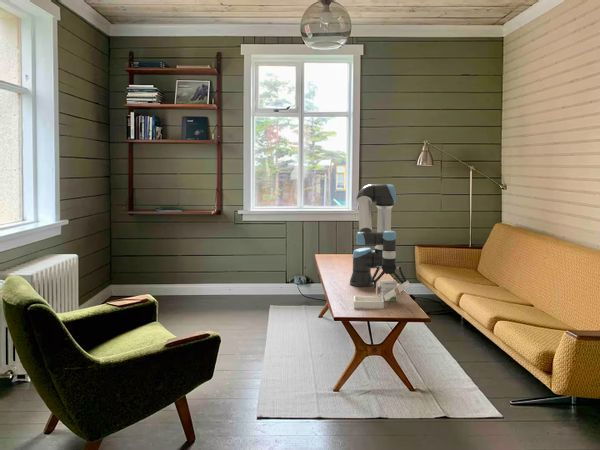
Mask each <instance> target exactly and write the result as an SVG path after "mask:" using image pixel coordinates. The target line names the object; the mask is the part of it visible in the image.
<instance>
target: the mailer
mask: <svg viewBox="0 0 600 450" xmlns="http://www.w3.org/2000/svg"><path fill="white" fill-rule="evenodd" d="M353 309H362V310H363V309H364V310H365V309H369V310H370V309H371V310H377V309H378V310H384V309H385V302H384V300H383V297H382V296H379V295H378V296H377V295H375V296H374V295H373V296H372V295H370V296H368V295H353Z"/></svg>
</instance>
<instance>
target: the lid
mask: <svg viewBox="0 0 600 450" xmlns="http://www.w3.org/2000/svg"><path fill="white" fill-rule="evenodd" d="M409 287H411V284H410V282H409V280H406V282H404V283H403V284H401V285H400V284H399V285H397V287H396V288H395V289H393V290H391V291H390V292H388V293H387V294H385V295H384V298H385V301H386V302H388V301H387V300H388V299H390V298H391V297H393V296H395V295H396V294H397V295H398V294H399V293H400V292H401V293H402V292H404V290H406V289H407V288H409Z"/></svg>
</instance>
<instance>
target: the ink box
mask: <svg viewBox="0 0 600 450" xmlns="http://www.w3.org/2000/svg"><path fill="white" fill-rule="evenodd" d="M396 287H398V281H397V280H395V279H386V280H385V279H381V280H380V289H379V291H380V292H379V294H380V296H382V297H383V300H384V303H385V302H397V295H398V294H396V295H395V296H393V297H391V298H390V299H388V300H387V301H385V298H384V295H385V294H387V293H388V292H390V291H391V290H393V289H395V288H396Z"/></svg>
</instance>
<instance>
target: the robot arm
mask: <svg viewBox="0 0 600 450" xmlns="http://www.w3.org/2000/svg"><path fill="white" fill-rule="evenodd" d="M373 203H375V205H374V206H375V207H376V208H377V222H376V223H377V224H376V225H377V227H376V229H377V230H376V232H375V231H373V227H372V226H373V225H372V224H373V222H372V207H371V205H372V204H373ZM396 203H397V193H396V188H395V185H394V184H391V183H390V184H389V183H388V184H387V183H380V184H379V183H376V184H375V183H374V184H373V183H371V184H367V185H364V186H363V187H362V188H361V189H359V192H358V193H357V196H356V205H357V206H358V231H357V232H356V234H355V235H356V237H355V238H356V245H359V246H360V245H361V246H374V249H371V247H360V248H356V249H354V250H353V251H352V273H351V276H350V279H349V285H351V286H353V287H370V286H373V289H375V296H377V295H378V281H379V280H380V279H381V278H382V277H383V276H384V275H385V274H386V275H392V274H393V275H394V276H395V277H396V278H397V280H398V281H399V286H400V285H401V284H403V283H404V282H406V281H407V279H406V277H405V275H404V273H403V271H402V266H400V265H399V266H397V264H396V263H397V262H396V261H397V259H396V256H397V255H396V253H397V251H396V250H397V248H396V247H397V232H396V231H394V230H392V208H393V207H395V206H394V205H395V204H396ZM372 269H376V270H375V272H374V273H373V276H372V273H371V272H372ZM381 270H382V271H381ZM396 270H398V272H399V273H400V275H401V277H402V278H401V277H400V276H399V275H398V273H397V272H396ZM380 271H381V273H379V272H380ZM378 273H379V275H378ZM398 294H399V296H401V295H402V291H401V292H400V293H398Z"/></svg>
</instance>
